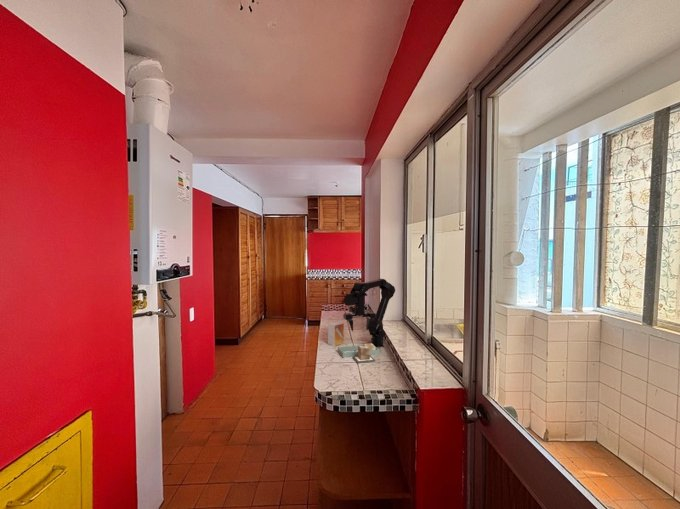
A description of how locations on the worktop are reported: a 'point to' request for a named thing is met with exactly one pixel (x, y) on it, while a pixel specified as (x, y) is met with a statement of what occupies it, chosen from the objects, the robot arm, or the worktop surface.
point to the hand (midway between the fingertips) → (359, 330)
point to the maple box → (370, 346)
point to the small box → (335, 333)
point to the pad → (363, 360)
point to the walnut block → (363, 352)
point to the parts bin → (354, 354)
